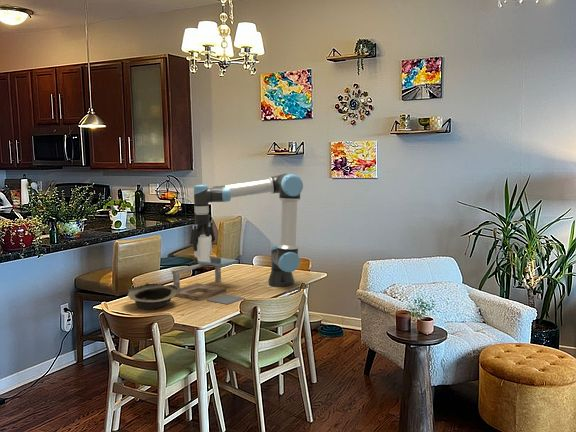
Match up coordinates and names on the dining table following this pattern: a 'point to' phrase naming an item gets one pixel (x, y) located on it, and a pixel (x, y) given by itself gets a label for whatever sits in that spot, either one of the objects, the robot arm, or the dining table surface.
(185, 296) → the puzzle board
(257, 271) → the dining table surface
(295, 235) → the robot arm
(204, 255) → the foam cup
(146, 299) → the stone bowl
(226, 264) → the cover
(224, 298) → the rubber mat
